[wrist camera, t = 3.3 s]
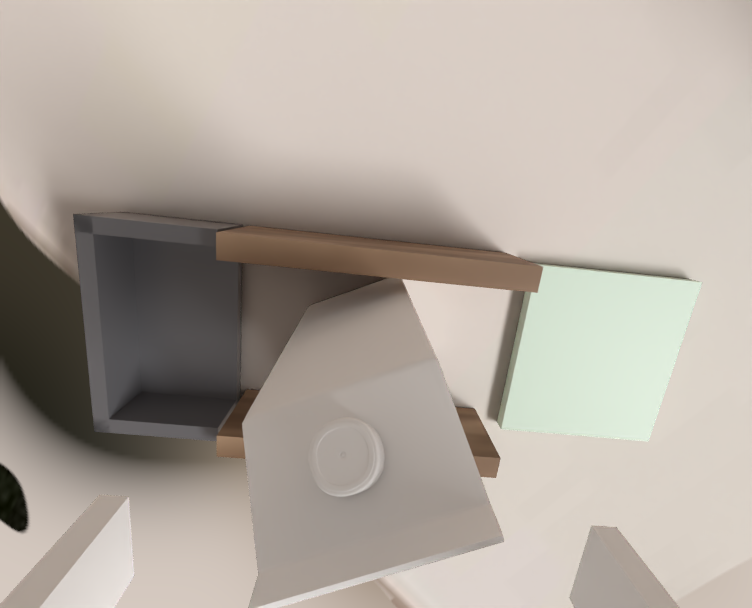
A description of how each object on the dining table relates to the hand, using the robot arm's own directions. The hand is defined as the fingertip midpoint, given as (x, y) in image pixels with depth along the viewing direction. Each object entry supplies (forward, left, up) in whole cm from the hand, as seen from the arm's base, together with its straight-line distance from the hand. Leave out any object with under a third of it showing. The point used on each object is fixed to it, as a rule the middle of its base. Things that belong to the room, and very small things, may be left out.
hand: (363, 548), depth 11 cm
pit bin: (0, -13, -18) cm, 22 cm away
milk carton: (0, 0, -18) cm, 18 cm away
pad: (0, +17, -18) cm, 25 cm away
